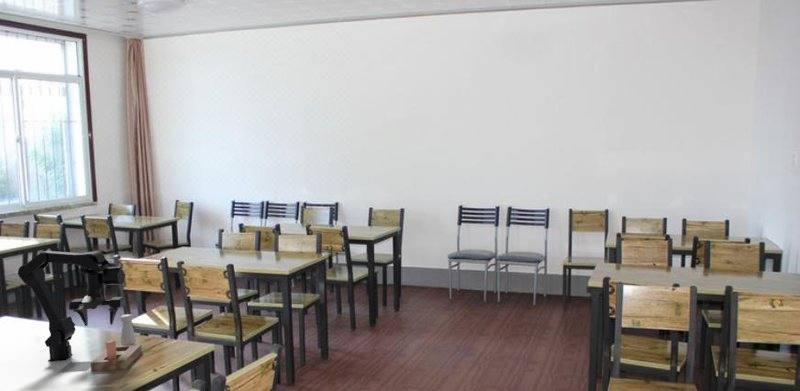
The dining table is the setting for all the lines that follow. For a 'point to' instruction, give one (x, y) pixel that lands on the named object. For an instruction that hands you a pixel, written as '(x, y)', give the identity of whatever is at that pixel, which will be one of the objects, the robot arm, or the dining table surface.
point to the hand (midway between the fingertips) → (99, 325)
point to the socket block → (124, 358)
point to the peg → (111, 350)
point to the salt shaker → (127, 331)
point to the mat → (76, 367)
